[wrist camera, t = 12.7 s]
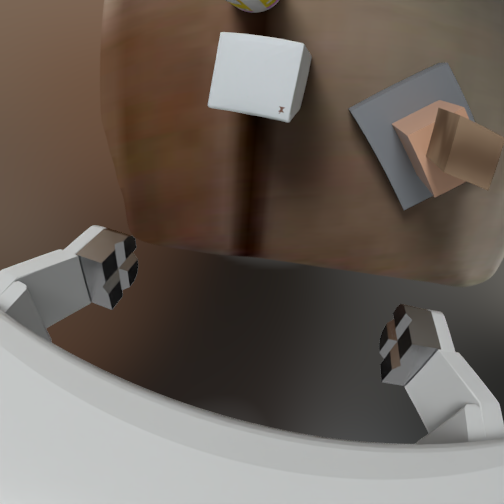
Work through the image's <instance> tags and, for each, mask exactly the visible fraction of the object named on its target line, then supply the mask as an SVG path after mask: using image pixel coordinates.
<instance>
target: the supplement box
mask: <svg viewBox="0 0 504 504" xmlns="http://www.w3.org/2000/svg"><path fill="white" fill-rule="evenodd" d="M311 58H312V56H311V54H310V53H309V51H308V50H307V48H306V46H305V45H304V44H303V43H299V42H295V41H290V40H285V39H279V38H273V37H267V36H260V35H252V34H242V33H230V32H221V33H220V39H219V44H218V50H217V56H216V62H215V67H214V72H213V78H212V83H211V89H210V95H209V101H208V107H210V108H215V109H222V110H228V111H234V112H240V113H245V114H249V115H256V116H261V117H266V118H270V119H275V120H279V121H283V122H287V123H288V122H290V121H291V120H292V118H293V117H294V116H295V114H296V113H297V112H298V111H299V110H300V107H301V103H302V99H303V95H304V91H305V87H306V82H307V78H308V73H309V68H310V63H311Z"/></svg>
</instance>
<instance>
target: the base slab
mask: <svg viewBox="0 0 504 504" xmlns="http://www.w3.org/2000/svg"><path fill="white" fill-rule="evenodd" d="M438 100H441V101H445V102H449V103H452V104H455V105H459V106H462V107H464V108H465V110H466V112H467V115H468V117H469V120H471V121H473V122H475V121H474V118H473V116H472V113H471V111H470V109H469V106H468V104H467V102H466V99H465V97H464V95H463V93H462V91H461V89H460V86H459V84H458V82H457V80H456V78H455V76H454V74H453V72H452V70H451V69H450V67H449V65H448V63H438V64H436V65H433V66H431V67H429V68H427V69H425V70H423V71H421V72H418V73H416V74H414V75H412V76H410V77H408V78H406V79H404V80H402V81H400V82H398V83H396V84H394V85H392V86H390V87H388V88H386V89H384V90H382V91H380V92H378V93H376V94H375V95H373V96H371V97H369V98H367V99H365V100H363V101H361V102H360V103H358V104H356V105H354V106H352V107H350V108H349V110H350V112H351V114H352V115H353V117H354V118H355V120H356V122H357V123H358V125H359V127H360V128H361V130H362V132H363V133H364V135H365V137H366V138H367V140H368V142H369V144H370V145H371V147H372V149H373V151H374V153H375V154H376V156H377V158H378V160H379V162H380V164H381V165H382V167H383V169H384V171H385V173H386V175H387V177H388V179H389V181H390V183H391V185H392V187H393V189H394V191H395V193H396V195H397V197H398V199H399V201H400V203H401V205H402V207H403V209H404V210H406V209H408V208H410V207H412V206H414V205H416V204H418V203H420V202H422V201H424V200H426V199H428V198H430V197H432V196H433V195H432V193H431V192H430V191H429V189H428V188H427V187H426V186H425V184H424V183H423V182H422V181H421V179H420V178H419V177H418V176H417V174H416V172H415V170H414V167H413V165H412V163H411V161H410V159H409V157H408V155H407V153H406V151H405V149H404V147H403V145H402V143H401V141H400V139H399V137H398V135H397V133H396V131H395V129H394V127H393V126H392V123H394V122H396V121H398V120H400V119H402V118H404V117H406V116H408V115H410V114H412V113H414V112H416V111H418V110H420V109H422V108H424V107H426V106H428V105H430V104H432V103H434V102H436V101H438Z"/></svg>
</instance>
